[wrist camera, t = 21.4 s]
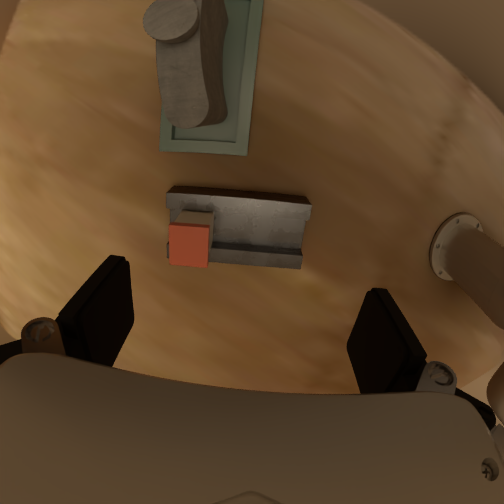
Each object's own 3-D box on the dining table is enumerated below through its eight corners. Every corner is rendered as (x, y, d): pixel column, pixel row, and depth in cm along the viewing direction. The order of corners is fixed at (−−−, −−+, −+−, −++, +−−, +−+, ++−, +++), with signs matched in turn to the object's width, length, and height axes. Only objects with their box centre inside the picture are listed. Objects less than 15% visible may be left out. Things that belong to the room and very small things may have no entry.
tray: (264, -5, 27) (264, -12, 25) (247, 153, 37) (246, 155, 35) (181, -7, 27) (177, -13, 25) (164, 149, 37) (159, 151, 34)
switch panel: (306, 196, 40) (311, 205, 36) (296, 256, 44) (300, 269, 40) (174, 185, 39) (166, 192, 35) (173, 245, 43) (167, 257, 39)
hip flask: (227, 124, 35) (203, 129, 17) (195, 125, 35) (140, 133, 17) (228, 11, 28) (210, -72, 10) (197, 13, 28) (152, -63, 10)
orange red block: (215, 208, 38) (208, 228, 32) (214, 242, 40) (207, 267, 34) (182, 205, 38) (168, 225, 31) (182, 239, 40) (169, 264, 33)
